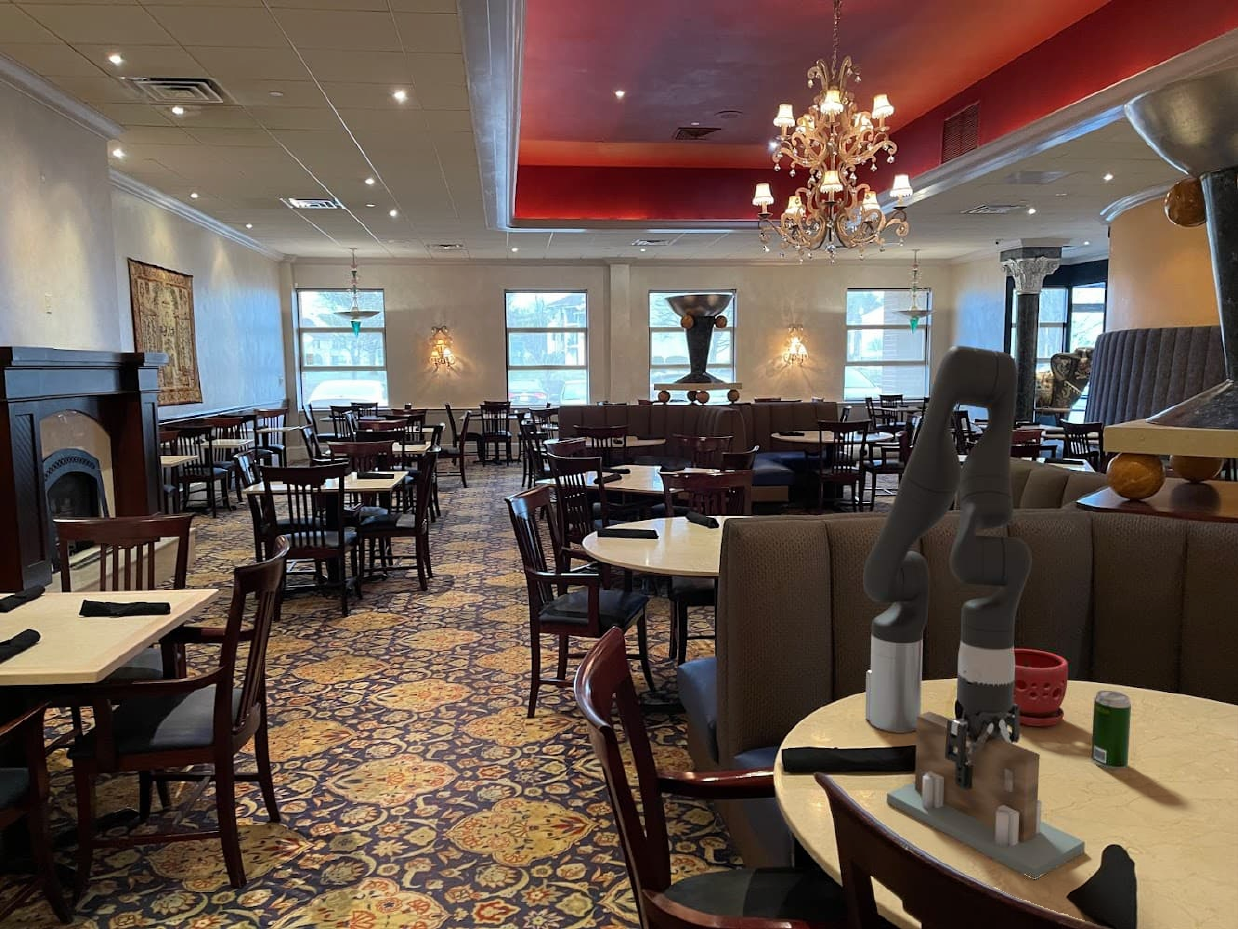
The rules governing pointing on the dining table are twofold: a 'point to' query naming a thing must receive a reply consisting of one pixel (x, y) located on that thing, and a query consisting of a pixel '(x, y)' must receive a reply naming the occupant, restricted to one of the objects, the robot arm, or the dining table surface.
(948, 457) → the robot arm
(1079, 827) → the dining table surface
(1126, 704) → the beer can
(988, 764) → the wooden board
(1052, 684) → the plant pot
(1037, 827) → the pegged base plate
